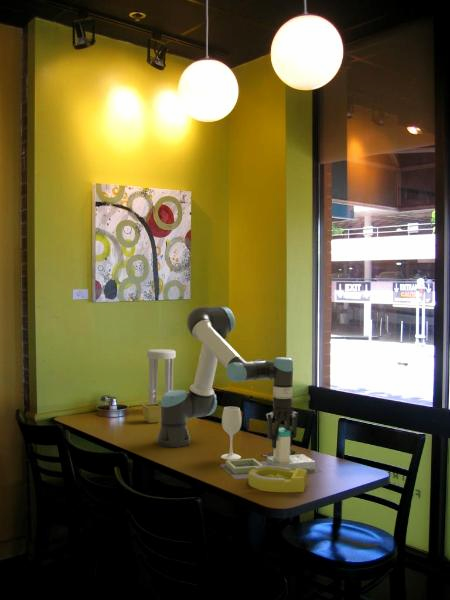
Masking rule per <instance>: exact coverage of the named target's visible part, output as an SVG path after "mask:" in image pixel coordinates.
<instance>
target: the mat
mask: <svg viewBox="0 0 450 600" xmlns="http://www.w3.org/2000/svg"><path fill="white" fill-rule="evenodd" d="M258 462H259V463H260V464H262V465H263V466H267V460H265V461H258ZM219 465H220V467H221V468H222V469H224V470H225V471H226V472H227V474H229V475H230V476H231V477H232V478H233V479H234V480H241V479H243V480H244V479H249V473H236V474H234V473H233V472H232V471H231V470H230V469H229V468H228V467H227V466H226V463H225V464H219ZM250 466H254V465H253V464H249V465H236V466H235V467H236V468H237V467H250ZM313 473H314V474H316V473H323V471H322V470H320V469H319V468H317V467H316V466H315V471H307V474H313Z"/></svg>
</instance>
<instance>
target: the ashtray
mask: <svg viewBox="0 0 450 600" xmlns="http://www.w3.org/2000/svg"><path fill="white" fill-rule="evenodd" d="M307 476H308V473H307V471H306V470H303V469H300V468H296V469H295V471H294V470H291V469H290V468H286V467H280V466H270V465H267V466H258V467H255V469H252V470H251V471H250V472H249V478H248V485H249V486H250V487H252V488H254V489H255V490H257V491H262V492H271V493H302V492H304V491H305V489H306V486H307V484H308V483H307V480H308V477H307Z"/></svg>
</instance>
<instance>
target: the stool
mask: <svg viewBox="0 0 450 600" xmlns="http://www.w3.org/2000/svg"><path fill="white" fill-rule="evenodd" d="M176 353H177V351H176V350H174V349H169V348H167V349H165V348H159V349H158V348H157V349H155V348H154V349H153V348H152V349H149V350H147V352H146V358H148V395H147V396H148V397H147V398H148V401H147V402H148V403H147V404H154V403H158V382H159V381H158V378H159V377H158V375H159V373H158V372H159V371H158V370H159V365H158V364H159V360H164V392H163V394H165V393H166V392H169V391H174V359H175V358H176V357H177V356H176Z"/></svg>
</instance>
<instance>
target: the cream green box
mask: <svg viewBox="0 0 450 600" xmlns="http://www.w3.org/2000/svg"><path fill="white" fill-rule="evenodd" d="M277 440H278V457H275V456H274V455H273V460H275V461H276V462H277V463H279V464H280V463H290V450H291V447H290V431H289V430H287V429H286V428H285V427H279V431H278V436H277Z"/></svg>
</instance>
